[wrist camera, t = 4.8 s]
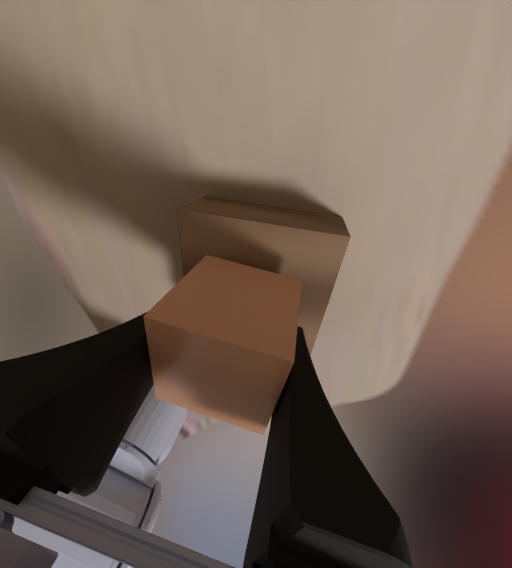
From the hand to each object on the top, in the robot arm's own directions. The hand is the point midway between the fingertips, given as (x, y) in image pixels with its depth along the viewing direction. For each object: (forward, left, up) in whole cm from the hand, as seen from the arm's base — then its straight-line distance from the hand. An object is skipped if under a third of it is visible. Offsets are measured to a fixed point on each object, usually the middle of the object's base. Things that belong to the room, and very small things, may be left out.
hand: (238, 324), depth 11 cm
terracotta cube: (0, 0, -2) cm, 2 cm away
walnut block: (0, 0, -7) cm, 7 cm away
